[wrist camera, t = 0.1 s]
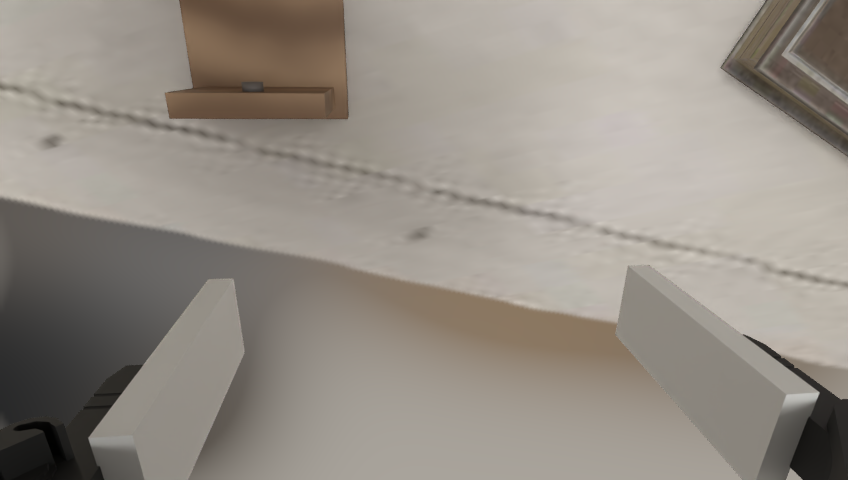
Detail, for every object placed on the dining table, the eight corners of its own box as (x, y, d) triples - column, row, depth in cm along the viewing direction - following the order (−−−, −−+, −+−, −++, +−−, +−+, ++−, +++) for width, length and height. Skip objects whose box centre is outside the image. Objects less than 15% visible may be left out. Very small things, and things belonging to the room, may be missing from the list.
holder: (167, -115, 33) (97, -174, 25) (338, -107, 34) (326, -160, 26) (203, 116, 39) (156, 132, 31) (348, 117, 40) (341, 132, 32)
